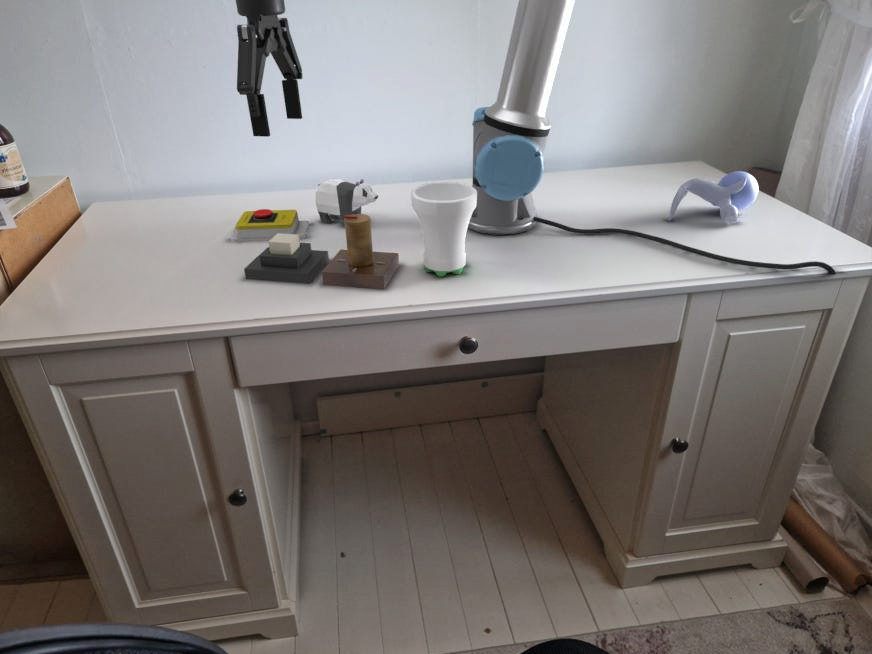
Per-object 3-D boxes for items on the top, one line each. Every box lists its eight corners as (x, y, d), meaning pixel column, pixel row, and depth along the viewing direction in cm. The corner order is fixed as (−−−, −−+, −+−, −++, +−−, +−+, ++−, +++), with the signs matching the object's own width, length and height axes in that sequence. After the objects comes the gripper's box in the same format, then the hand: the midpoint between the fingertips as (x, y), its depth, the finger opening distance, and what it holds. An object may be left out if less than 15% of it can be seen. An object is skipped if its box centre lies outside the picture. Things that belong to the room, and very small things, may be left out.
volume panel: (399, 265, 115) (398, 252, 113) (384, 289, 107) (383, 275, 105) (341, 261, 117) (340, 248, 115) (323, 285, 109) (321, 270, 107)
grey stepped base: (329, 260, 117) (326, 240, 115) (309, 284, 109) (306, 262, 107) (269, 256, 119) (265, 236, 117) (245, 279, 111) (241, 258, 109)
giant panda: (314, 221, 135) (309, 177, 130) (329, 213, 139) (324, 170, 134) (371, 232, 129) (368, 186, 124) (386, 223, 133) (383, 178, 128)
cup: (480, 258, 117) (482, 182, 109) (470, 284, 108) (471, 203, 100) (421, 254, 119) (419, 179, 111) (406, 279, 110) (403, 199, 102)
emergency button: (235, 205, 132) (307, 203, 132) (239, 225, 134) (310, 223, 134) (225, 221, 124) (301, 218, 124) (229, 241, 126) (304, 239, 126)
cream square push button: (300, 247, 114) (298, 234, 112) (291, 256, 110) (289, 242, 109) (279, 246, 114) (277, 233, 113) (270, 255, 111) (268, 241, 110)
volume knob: (376, 257, 112) (373, 212, 107) (369, 267, 108) (365, 221, 104) (352, 256, 112) (348, 211, 108) (345, 266, 109) (340, 220, 104)
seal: (761, 232, 133) (679, 240, 128) (733, 192, 140) (653, 198, 135) (785, 202, 126) (699, 209, 121) (754, 161, 133) (671, 166, 128)
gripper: (270, -17, 110) (288, 111, 121) (194, -9, 90) (224, 143, 101) (310, -17, 108) (324, 112, 120) (242, -11, 88) (267, 145, 99)
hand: (279, 127), depth 110 cm, fingers open, 13 cm apart
